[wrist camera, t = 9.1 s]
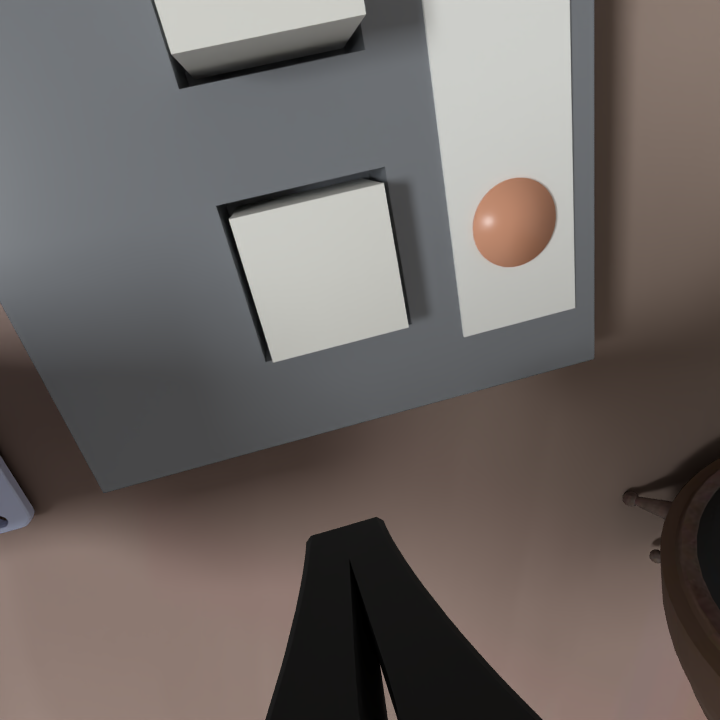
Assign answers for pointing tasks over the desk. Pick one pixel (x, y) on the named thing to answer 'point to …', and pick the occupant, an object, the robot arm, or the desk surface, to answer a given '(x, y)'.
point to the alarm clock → (692, 579)
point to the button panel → (276, 179)
